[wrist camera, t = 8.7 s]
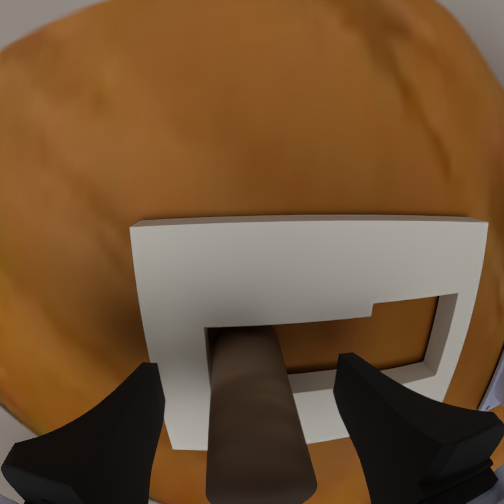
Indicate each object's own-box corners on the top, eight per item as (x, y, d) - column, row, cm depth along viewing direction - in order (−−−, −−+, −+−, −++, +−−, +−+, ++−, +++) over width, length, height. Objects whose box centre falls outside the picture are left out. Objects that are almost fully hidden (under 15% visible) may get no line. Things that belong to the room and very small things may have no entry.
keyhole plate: (469, 217, 13) (488, 222, 12) (427, 399, 16) (437, 412, 15) (140, 220, 12) (129, 227, 11) (176, 430, 15) (172, 449, 14)
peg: (278, 316, 14) (324, 459, 6) (277, 369, 15) (310, 509, 7) (211, 319, 14) (198, 468, 6) (216, 372, 14) (211, 516, 7)
